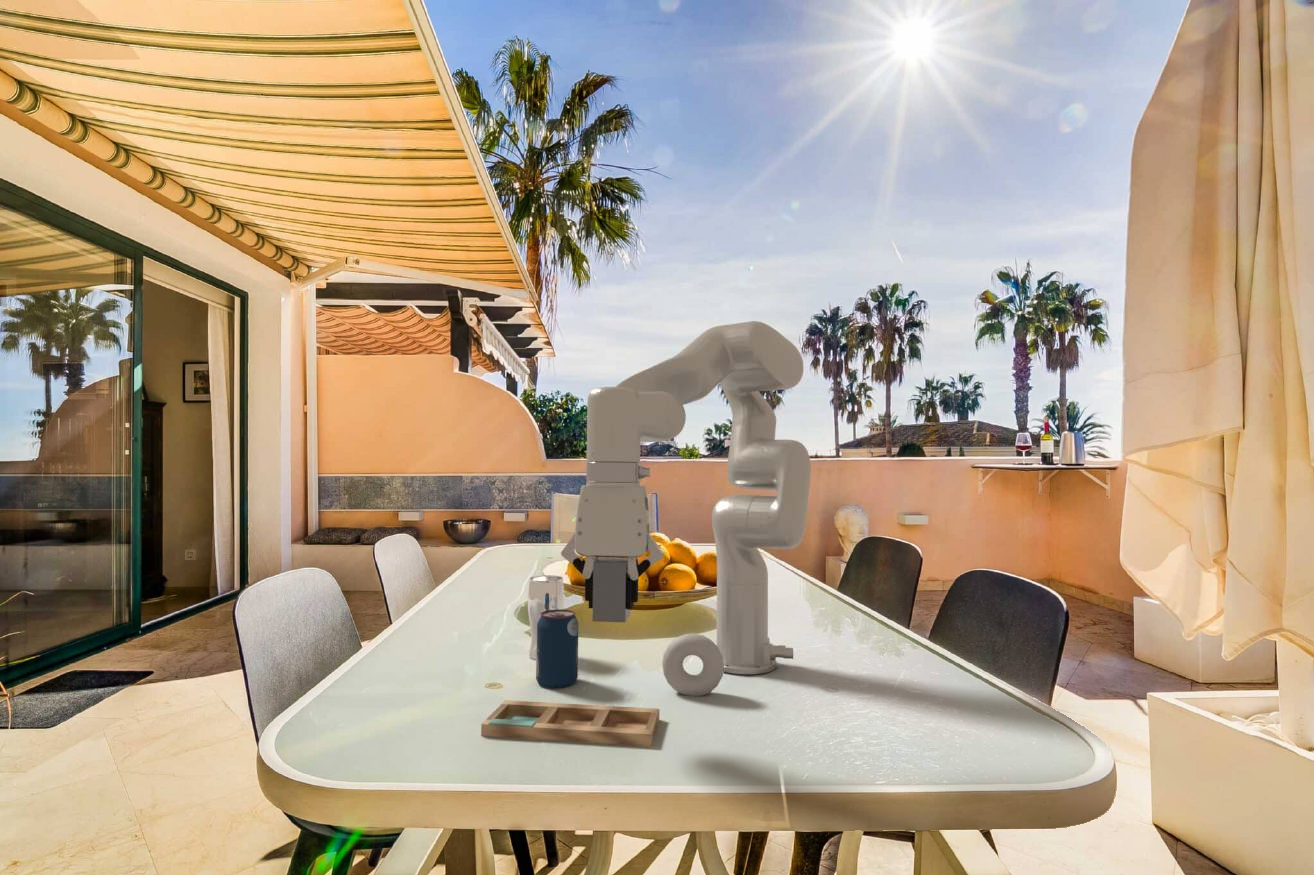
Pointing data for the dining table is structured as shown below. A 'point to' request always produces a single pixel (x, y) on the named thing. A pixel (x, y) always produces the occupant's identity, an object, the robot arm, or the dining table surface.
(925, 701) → the dining table surface
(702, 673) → the donut
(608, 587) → the block
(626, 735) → the tray
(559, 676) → the soda can
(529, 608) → the beer glass
